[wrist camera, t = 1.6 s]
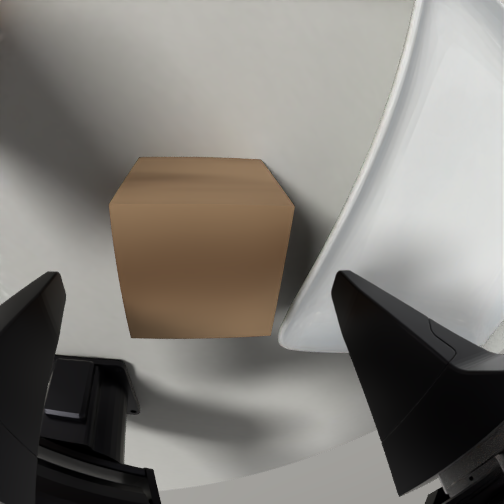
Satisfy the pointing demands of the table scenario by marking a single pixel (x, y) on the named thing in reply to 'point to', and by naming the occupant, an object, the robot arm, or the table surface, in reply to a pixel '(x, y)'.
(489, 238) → the salad plate
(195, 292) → the walnut cube
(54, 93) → the table surface
